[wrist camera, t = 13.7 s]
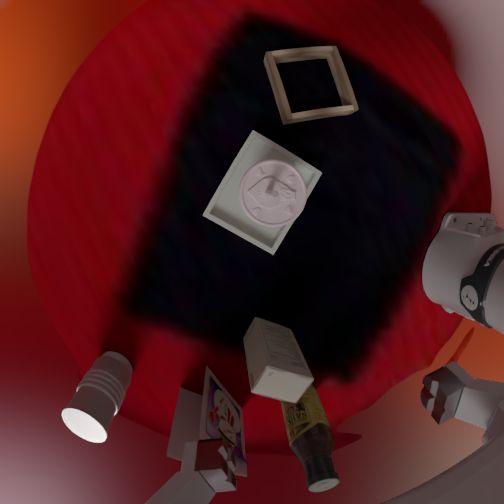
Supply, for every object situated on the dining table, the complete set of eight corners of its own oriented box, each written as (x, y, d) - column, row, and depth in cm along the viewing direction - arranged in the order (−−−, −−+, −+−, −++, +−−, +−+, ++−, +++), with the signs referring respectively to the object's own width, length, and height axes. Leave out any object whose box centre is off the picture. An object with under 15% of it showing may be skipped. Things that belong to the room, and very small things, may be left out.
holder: (329, 54, 32) (336, 45, 29) (349, 114, 34) (358, 109, 31) (263, 61, 32) (265, 52, 29) (283, 124, 34) (287, 119, 31)
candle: (92, 348, 39) (52, 404, 25) (127, 348, 40) (93, 410, 25) (105, 380, 41) (75, 438, 26) (140, 381, 41) (115, 445, 27)
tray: (251, 133, 34) (252, 130, 32) (316, 173, 36) (322, 172, 33) (204, 213, 36) (202, 215, 34) (270, 250, 38) (273, 255, 35)
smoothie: (238, 164, 34) (243, 148, 20) (289, 168, 34) (325, 157, 21) (234, 215, 35) (237, 233, 21) (285, 218, 36) (318, 238, 22)
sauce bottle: (290, 373, 42) (320, 470, 23) (321, 382, 43) (360, 470, 24) (271, 400, 44) (291, 495, 24) (302, 407, 45) (330, 495, 25)
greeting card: (246, 407, 44) (252, 475, 29) (210, 420, 44) (207, 485, 29) (211, 363, 41) (205, 434, 26) (173, 378, 41) (155, 447, 27)
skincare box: (242, 338, 40) (247, 392, 28) (255, 315, 40) (264, 364, 28) (280, 352, 41) (296, 405, 29) (294, 329, 41) (315, 379, 29)
